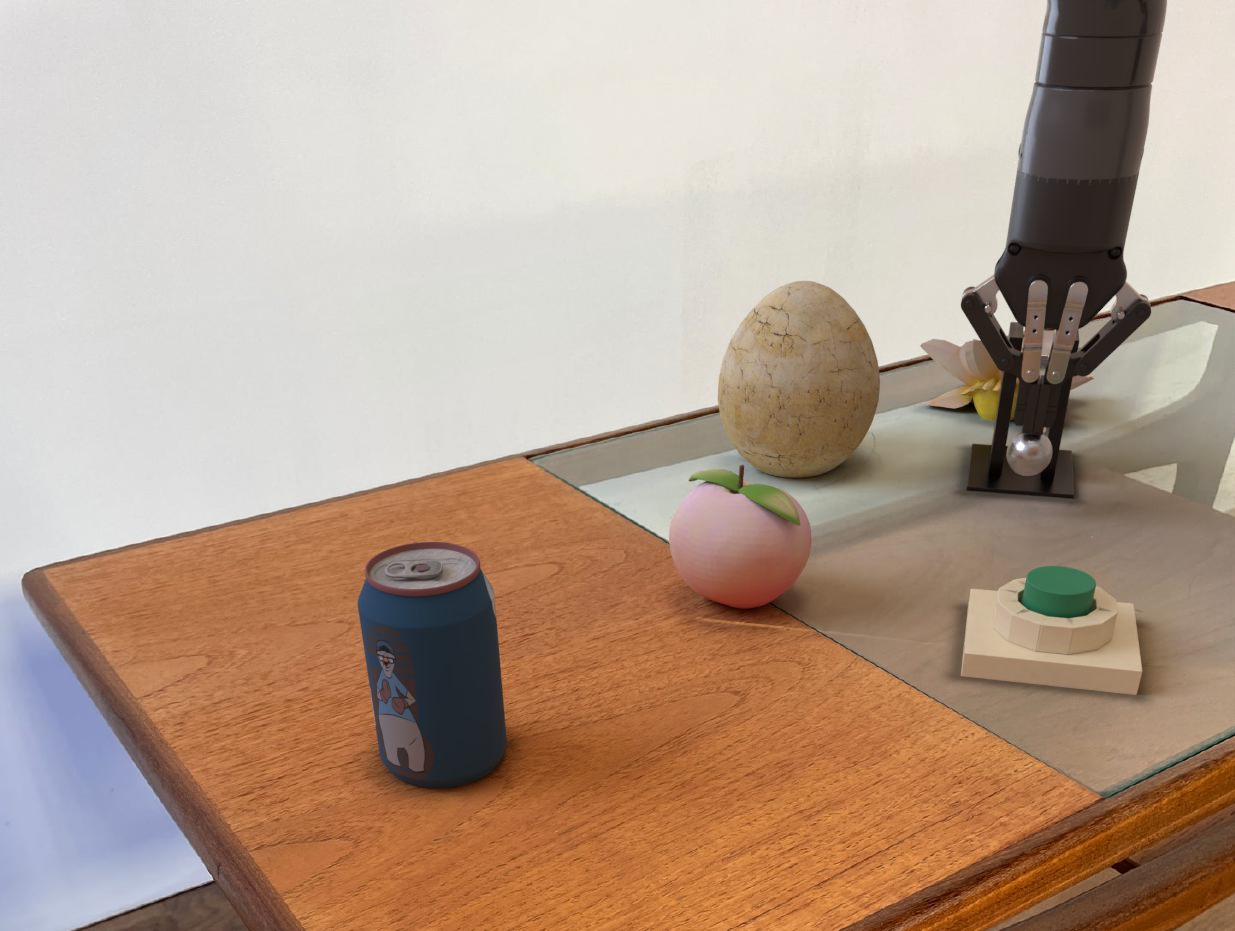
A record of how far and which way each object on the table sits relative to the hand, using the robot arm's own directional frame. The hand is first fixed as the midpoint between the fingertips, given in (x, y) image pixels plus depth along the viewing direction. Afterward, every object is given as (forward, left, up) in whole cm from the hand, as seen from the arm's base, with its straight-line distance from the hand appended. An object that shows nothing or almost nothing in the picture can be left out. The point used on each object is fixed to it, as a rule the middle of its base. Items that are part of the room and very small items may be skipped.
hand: (1032, 431), depth 92 cm
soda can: (+30, +41, -7) cm, 51 cm away
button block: (-2, +21, -7) cm, 22 cm away
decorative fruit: (+18, +19, -7) cm, 27 cm away
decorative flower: (+1, -24, -7) cm, 25 cm away
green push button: (-2, +21, -3) cm, 21 cm away
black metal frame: (0, -9, -7) cm, 11 cm away
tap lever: (0, -5, -1) cm, 5 cm away
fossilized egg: (+18, -7, -7) cm, 21 cm away
